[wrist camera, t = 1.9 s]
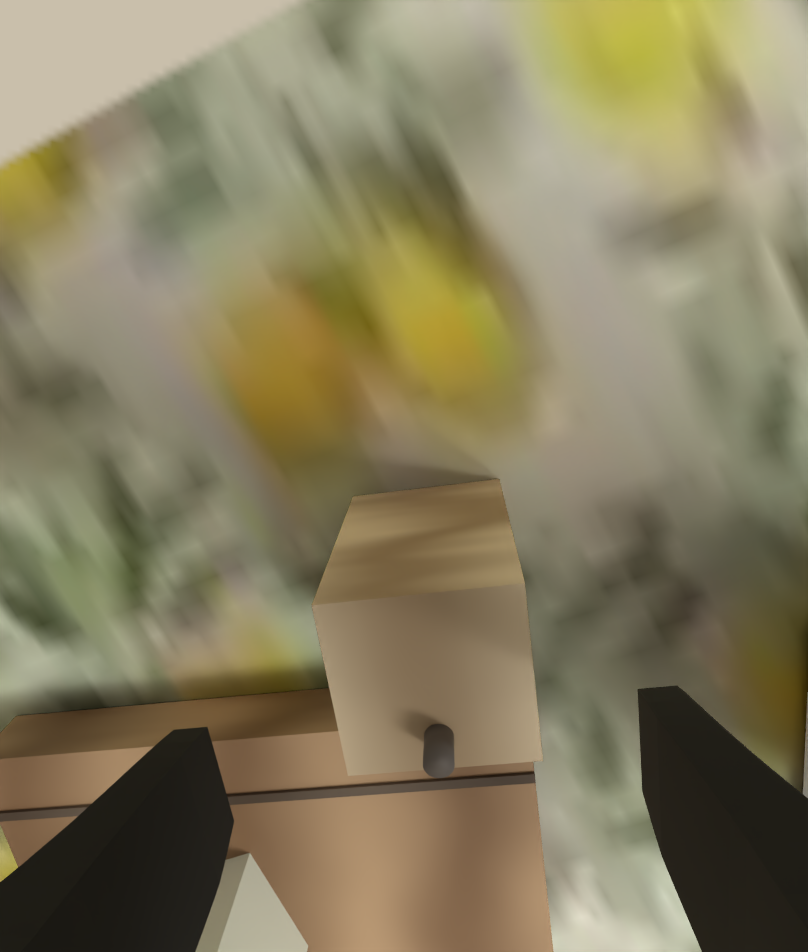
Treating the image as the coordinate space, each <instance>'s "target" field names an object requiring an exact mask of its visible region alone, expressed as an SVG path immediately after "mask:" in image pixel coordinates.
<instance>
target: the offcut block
mask: <svg viewBox="0 0 808 952" xmlns="http://www.w3.org/2000/svg"><path fill="white" fill-rule="evenodd" d="M307 949H308V945H307V943H306V941H305V940H304V938H303V937H302V935H301V933H300V932H299V930H298V929H297V927H296V925H295V924H294V922H293V921H292V919H291V917H290V916H289V914H288V913H287V911H286V909H285V908H284V906H283V905H282V903H281V902H280V900H279V898H278V897H277V895H276V894H275V892H274V890H273V889H272V887H271V886H270V884H269V882H268V881H267V879H266V878H265V876H264V874H263V873H262V871H261V870H260V868H259V867H258V865H257V863H256V862H255V860H254V859H253V857H252V855H251V854H250V853H247V854H244V855H241V856H237V857H234V858H231V859H227V860H225V864H224V868H223V872H222V876H221V880H220V884H219V887H218V890H217V893H216V896H215V899H214V902H213V904H212V907H211V910H210V913H209V916H208V918H207V921H206V924H205V927H204V930H203V932H202V935H201V938H200V941H199V943H198V946H197V949H196V951H195V952H307Z"/></svg>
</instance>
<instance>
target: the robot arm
mask: <svg viewBox="0 0 808 952" xmlns="http://www.w3.org/2000/svg"><path fill="white" fill-rule="evenodd" d="M638 704H639V726H640V748H641V770H642V791H643V795H644V798H645V802H646V805H647V809H648V812H649V815H650V819H651V822H652V826H653V829H654V832H655V835H656V838H657V842H658V845H659V848H660V851H661V855H662V857H663V860H664V862H665V865H666V867H667V870H668V872H669V874H670V877H671V879H672V882H673V884H674V886H675V889H676V891H677V893H678V896H679V898H680V901H681V903H682V905H683V908H684V910H685V913H686V915H687V917H688V920H689V922H690V924H691V927H692V929H693V931H694V934H695V936H696V938H697V941H698V943H699V946H700V948H701V950H702V952H808V694H807V716H806V738H805V759H804V781H803V794H802V793H801V792H799V791H798V790H797V789H795V788H794V787H793V786H792V785H790V784H789V783H788V782H787V781H786V780H784V779H783V778H782V777H781V776H780V775H778V774H777V773H776V772H775V771H774V770H772V769H771V768H770V767H769V766H768V765H766V764H765V763H764V762H763V761H762V760H760V759H759V758H758V757H757V756H756V755H754V754H753V753H752V752H751V751H750V750H749V749H747V748H746V747H745V746H744V745H743V744H742V743H741V742H739V741H738V740H737V739H736V738H735V737H734V736H733V735H731V734H730V733H729V732H728V731H727V730H726V729H725V728H724V727H723V726H721V725H720V724H719V723H718V722H717V721H716V720H715V719H714V718H713V717H711V716H710V715H709V714H708V713H707V712H706V711H705V710H704V709H703V708H702V707H701V706H699V705H698V704H697V703H696V702H695V701H694V700H693V699H692V698H691V697H690V696H689V695H687V694H686V693H685V692H684V691H683V690H682V689H680V688H679V687H678V686H667V687H656V688H644V689H638ZM233 825H234V818H233V815H232V811H231V808H230V804H229V801H228V797H227V794H226V790H225V787H224V783H223V780H222V776H221V773H220V769H219V766H218V762H217V759H216V755H215V752H214V748H213V744H212V741H211V737H210V734H209V730H208V727H199V728H187V729H176V730H173V731H171V732H170V733H169V734H168V735H167V736H165V737H164V738H163V739H162V740H161V741H160V742H158V743H157V744H156V745H155V746H154V747H153V748H152V749H151V750H149V751H148V752H147V753H146V754H145V755H144V756H143V757H142V758H141V759H140V760H139V761H137V762H136V763H135V764H134V765H133V766H132V767H131V768H130V769H129V770H128V771H127V772H126V773H125V774H123V775H122V776H121V777H120V778H119V779H118V780H117V781H116V782H115V783H114V784H113V785H112V786H110V787H109V788H108V789H107V790H106V791H105V792H104V793H103V794H102V795H101V796H100V797H98V798H97V799H96V800H95V801H94V802H93V803H92V804H91V805H90V806H89V807H87V808H86V809H85V810H84V811H83V812H82V813H81V814H80V815H79V816H78V817H77V818H75V819H74V820H73V821H72V822H71V823H70V824H69V825H67V826H66V827H65V828H64V829H63V830H62V831H60V832H59V833H58V834H57V835H56V836H55V837H53V838H52V839H51V840H50V841H49V842H48V843H46V844H45V845H44V846H43V847H42V848H41V849H39V850H38V851H37V852H36V853H35V854H34V855H32V856H31V857H30V858H29V859H28V860H27V861H25V862H24V863H23V864H22V865H21V866H19V867H18V868H17V869H16V870H15V871H14V872H12V873H11V874H10V875H9V876H8V877H6V878H5V879H4V880H3V881H1V882H0V952H195V951H196V949H197V946H198V943H199V941H200V938H201V935H202V932H203V930H204V927H205V924H206V921H207V918H208V916H209V913H210V910H211V907H212V904H213V902H214V899H215V896H216V893H217V890H218V887H219V884H220V880H221V876H222V872H223V868H224V864H225V860H226V856H227V852H228V847H229V843H230V838H231V834H232V829H233Z"/></svg>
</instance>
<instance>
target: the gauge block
mask: <svg viewBox="0 0 808 952" xmlns="http://www.w3.org/2000/svg"><path fill="white" fill-rule="evenodd" d="M312 610H313V614H314V619H315V624H316V628H317V633H318V638H319V642H320V647H321V652H322V656H323V661H324V666H325V670H326V675H327V680H328V684H329V689H330V694H331V699H332V703H333V708H334V713H335V717H336V722H337V727H338V731H339V736H340V741H341V745H342V750H343V755H344V759H345V764H346V769H347V773H348V776H354V775H367V774H380V773H393V772H406V771H419V770H424V771H425V772H426V773H427V774H428V775H429V776H431V777H434V778H444V777H447V776H449V775H450V774H451V773H452V772H453V770H454V768H458V767H471V766H484V765H497V764H509V763H522V762H535V761H543V756H542V746H541V736H540V726H539V716H538V707H537V697H536V687H535V677H534V667H533V658H532V648H531V638H530V628H529V618H528V608H527V599H526V589H525V581H524V577H523V573H522V569H521V565H520V561H519V557H518V553H517V549H516V545H515V541H514V537H513V533H512V529H511V525H510V521H509V517H508V512H507V508H506V504H505V500H504V496H503V492H502V488H501V484H500V480H499V479H493V480H485V481H477V482H468V483H460V484H452V485H443V486H435V487H427V488H418V489H410V490H402V491H393V492H385V493H377V494H368V495H360V496H353V498H352V500H351V503H350V506H349V508H348V511H347V514H346V516H345V519H344V521H343V524H342V527H341V529H340V532H339V535H338V537H337V540H336V543H335V545H334V548H333V550H332V553H331V556H330V558H329V561H328V564H327V566H326V569H325V571H324V574H323V577H322V579H321V582H320V585H319V587H318V590H317V593H316V595H315V598H314V600H313V603H312Z"/></svg>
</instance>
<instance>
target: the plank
mask: <svg viewBox="0 0 808 952" xmlns="http://www.w3.org/2000/svg"><path fill="white" fill-rule="evenodd" d="M199 727H208V730H209V734H210V737H211V741H212V744H213V748H214V752H215V755H216V759H217V762H218V766H219V769H220V773H221V776H222V780H223V783H224V787H225V790H226V794H227V797H228V801H229V804H230V808H231V811H232V815H233V818H234V825H233V829H232V834H231V838H230V843H229V847H228V852H227V856H226V860H227V859H231V858H234V857H237V856H241V855H244V854H247V853H250V854H251V855H252V857H253V859H254V860H255V862H256V863H257V865H258V867H259V868H260V870H261V871H262V873H263V874H264V876H265V878H266V879H267V881H268V882H269V884H270V886H271V887H272V889H273V890H274V892H275V894H276V895H277V897H278V898H279V900H280V902H281V903H282V905H283V906H284V908H285V909H286V911H287V913H288V914H289V916H290V917H291V919H292V921H293V922H294V924H295V925H296V927H297V929H298V930H299V932H300V933H301V935H302V937H303V938H304V940H305V941H306V943H307V945H308V949H307V952H553V944H552V935H551V925H550V916H549V907H548V897H547V888H546V878H545V869H544V860H543V850H542V841H541V831H540V822H539V813H538V803H537V794H536V784H535V774H534V766H533V762H522V763H509V764H497V765H484V766H471V767H458V768H454V770H453V772H452V773H451V774H450V775H449V776H447V777H444V778H434V777H431V776H429V775H428V774H427V773H426V772H425V771H424V770H419V771H406V772H393V773H380V774H367V775H354V776H348V773H347V769H346V764H345V759H344V755H343V750H342V745H341V741H340V736H339V731H338V727H337V722H336V717H335V713H334V708H333V703H332V699H331V694H330V689H329V688H324V689H313V690H302V691H291V692H279V693H268V694H257V695H246V696H235V697H224V698H212V699H201V700H190V701H179V702H168V703H156V704H145V705H134V706H123V707H112V708H100V709H89V710H78V711H67V712H56V713H45V714H33V715H22V716H16V717H15V718H14V719H13V720H12V721H11V722H10V723H9V724H8V725H7V726H6V727H5V728H4V730H3V731H2V732H1V733H0V825H1V827H2V829H3V832H4V834H5V837H6V839H7V841H8V844H9V846H10V848H11V851H12V853H13V856H14V858H15V860H16V863H17V865H18V867H19V866H21V865H22V864H23V863H24V862H25V861H27V860H28V859H29V858H30V857H31V856H32V855H34V854H35V853H36V852H37V851H38V850H39V849H41V848H42V847H43V846H44V845H45V844H46V843H48V842H49V841H50V840H51V839H52V838H53V837H55V836H56V835H57V834H58V833H59V832H60V831H62V830H63V829H64V828H65V827H66V826H67V825H69V824H70V823H71V822H72V821H73V820H74V819H75V818H77V817H78V816H79V815H80V814H81V813H82V812H83V811H84V810H85V809H86V808H87V807H89V806H90V805H91V804H92V803H93V802H94V801H95V800H96V799H97V798H98V797H100V796H101V795H102V794H103V793H104V792H105V791H106V790H107V789H108V788H109V787H110V786H112V785H113V784H114V783H115V782H116V781H117V780H118V779H119V778H120V777H121V776H122V775H123V774H125V773H126V772H127V771H128V770H129V769H130V768H131V767H132V766H133V765H134V764H135V763H136V762H137V761H139V760H140V759H141V758H142V757H143V756H144V755H145V754H146V753H147V752H148V751H149V750H151V749H152V748H153V747H154V746H155V745H156V744H157V743H158V742H160V741H161V740H162V739H163V738H164V737H165V736H167V735H168V734H169V733H170V732H171V731H173V730H176V729H187V728H199Z"/></svg>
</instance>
